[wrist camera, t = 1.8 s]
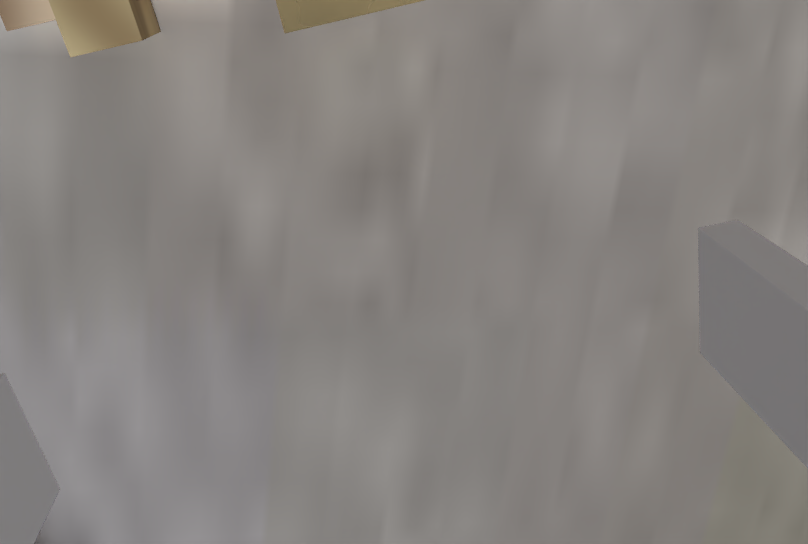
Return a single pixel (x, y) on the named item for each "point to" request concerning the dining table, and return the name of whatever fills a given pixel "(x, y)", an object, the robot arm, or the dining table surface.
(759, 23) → the dining table surface
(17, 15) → the bar
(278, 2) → the block
